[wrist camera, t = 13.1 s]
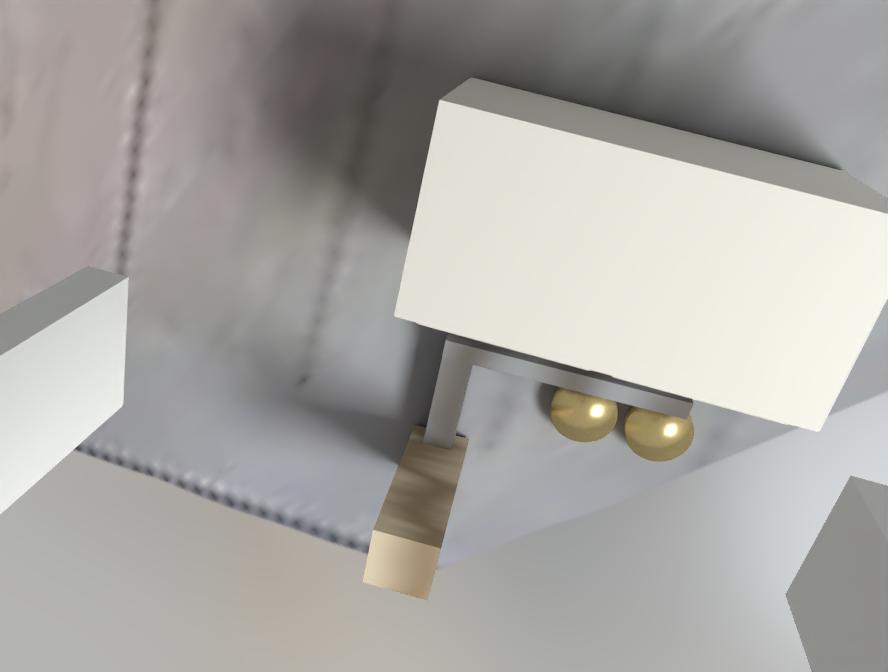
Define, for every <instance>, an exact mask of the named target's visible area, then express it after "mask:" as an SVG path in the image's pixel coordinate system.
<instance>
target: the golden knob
mask: <svg viewBox="0 0 888 672" xmlns="http://www.w3.org/2000/svg"><path fill="white" fill-rule="evenodd" d="M617 417H618V409H617V402H616V401H612V400H608V399H604V398H601V397H597V396H593V395H589V394H585V393H581V392H577V391H573V390H570V389H566V388H562V387H558V388H557V389H556V391H555V392H554V394H553V397H552V402H551V419H552V422H553V424H554V426H555V428H556V429H557V430H558V431H559V432H560V433H561V434H562V435H563V436H565V437H567V438H569V439H571V440H574V441H578V442H592V441H596V440H599V439H601V438H603V437H605V436H606V435H607V434H609V433H610V432H611V431H612V429H613V428H614V426H615V424H616V422H617Z"/></svg>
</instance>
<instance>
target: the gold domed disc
mask: <svg viewBox="0 0 888 672" xmlns="http://www.w3.org/2000/svg"><path fill="white" fill-rule="evenodd" d="M624 428H625V436H626V440H627V443H628V445H629V447H630V448H631V449H632V450H633V452H635V453H636V454H637V455H639V456H640V457H642V458H644V459H647V460H651V461H667V460H671V459H674V458H676V457H678V456H680V455H681V454H683V453H684V452H685V451H686V450H687V449H688V448H689V446H690V445H691V443H692V440H693V436H694V427H693V423H692V420H691V416H690V414H689V415H688V418H687V420H686V419H682V418H678V417H674V416H670V415H667V414H663V413H659V412H655V411H651V410H647V409H643V408H639V407H636V406H632V407H631V408H630V409H629V411H628V412H627V414H626V417H625V421H624Z"/></svg>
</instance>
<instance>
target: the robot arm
mask: <svg viewBox="0 0 888 672" xmlns="http://www.w3.org/2000/svg"><path fill="white" fill-rule="evenodd" d="M127 301H128V277H126V276H123V275H119V274H115V273H112V272H108V271H105V270H101V269H97V268H94V267H90V266H88V267H86V268H85V269H83V270H81V271H79V272H77V273H75V274H73V275H72V276H70V277H68V278H66V279H64V280H62V281H61V282H59V283H57V284H55V285H53V286H51V287H49V288H48V289H46V290H44V291H42V292H40V293H38V294H37V295H35V296H33V297H31V298H29V299H27V300H26V301H24V302H22V303H20V304H18V305H16V306H14V307H13V308H11V309H9V310H7V311H5V312H3V313H2V314H0V514H1V513H2V512H3V511H4V510H6V509H7V508H8V507H9V506H10V505H11V504H12V503H13V502H15V501H16V500H17V499H18V498H19V497H20V496H21V495H22V494H24V493H25V492H26V491H27V490H28V489H29V488H30V487H32V486H33V485H34V484H35V483H36V482H37V481H38V480H39V479H41V478H42V477H43V476H44V475H45V474H46V473H47V472H48V471H50V470H51V469H52V468H53V467H54V466H55V465H56V464H57V463H59V462H60V461H61V460H62V459H63V458H64V457H65V456H66V455H68V454H69V453H70V452H71V451H72V450H73V449H74V448H76V447H77V446H78V445H79V444H80V443H81V442H82V441H83V440H85V439H86V438H87V437H88V436H89V435H90V434H91V433H92V432H94V431H95V430H96V429H97V428H98V427H99V426H100V425H101V424H103V423H104V422H105V421H106V420H107V419H108V418H109V417H110V416H112V415H113V414H114V413H115V412H116V411H117V410H118V409H120V408H121V407H122V406H123V393H124V370H125V347H126V324H127ZM786 597H787V600H788V603H789V606H790V609H791V612H792V615H793V618H794V621H795V624H796V627H797V630H798V633H799V635H800V638H801V641H802V644H803V647H804V650H805V653H806V656H807V659H808V662H809V665H810V668H811V671H812V672H888V486H886V485H883V484H879V483H875V482H872V481H868V480H865V479H861V478H857V477H854V476H850V478H849V480H848V482H847V484H846V485H845V487H844V489H843V491H842V493H841V494H840V496H839V498H838V500H837V502H836V503H835V505H834V507H833V509H832V511H831V513H830V514H829V516H828V518H827V520H826V522H825V523H824V525H823V527H822V529H821V531H820V533H819V535H818V537H817V538H816V540H815V542H814V544H813V545H812V547H811V549H810V551H809V553H808V555H807V556H806V558H805V560H804V562H803V564H802V565H801V567H800V569H799V571H798V573H797V575H796V577H795V578H794V580H793V582H792V584H791V586H790V587H789V589H788V591H787V593H786Z"/></svg>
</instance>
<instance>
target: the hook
mask: <svg viewBox="0 0 888 672" xmlns="http://www.w3.org/2000/svg"><path fill="white" fill-rule="evenodd" d="M473 365H476V366H480V367H484V368H488V369H492V370H496V371H500V372H504V373H508V374H511V375H515V376H519V377H523V378H527V379H531V380H535V381H539V382H542V383H546V384H550V385H554V386H558V387H562V388H566V389H570V390H573V391H577V392H581V393H585V394H589V395H593V396H597V397H601V398H604V399H608V400H612V401H616V402H620V403H624V404H628V405H632V406H636V407H639V408H643V409H647V410H651V411H655V412H659V413H663V414H667V415H670V416H674V417H678V418H682V419H686V420H687V418H688V415H689V413H690V410H691V408H692V405H693V401H692V399H691V398H687V397H683V396H680V395H676V394H672V393H669V392H665V391H661V390H658V389H654V388H650V387H647V386H643V385H639V384H636V383H632V382H628V381H625V380H621V379H617V378H614V377H612V376H611V375H607V374H604V373H600V372H596V371H593V370H590V371H588V370H584V369H581V368H577V367H573V366H570V365H566V364H562V363H559V362H555V361H551V360H548V359H544V358H540V357H537V356H533V355H529V354H526V353H522V352H518V351H515V350H511V349H507V348H504V347H500V346H496V345H493V344H489V343H485V342H482V341H478V340H474V339H471V338H467V337H463V336H460V335H456V334H452V333H448V335H447V338H446V341H445V345H444V350H443V354H442V360H441V365H440V369H439V374H438V378H437V382H436V387H435V391H434V396H433V400H432V405H431V409H430V413H429V418H428V422H427V427H422V426H418V425H414V427H413V430H412V432H411V435H410V438H409V440H408V443H407V445H406V448H405V450H404V453H403V455H402V458H401V460H400V463H399V466H398V468H397V471H396V473H395V476H394V478H393V481H392V483H391V486H390V489H389V491H388V494H387V496H386V499H385V501H384V504H383V506H382V509H381V511H380V514H379V517H378V519H377V522H376V524H375V527H374V529H373V534H372V539H371V543H370V548H369V553H368V558H367V564H366V568H365V573H364V578H363V582H364V583H367V584H371V585H374V586H378V587H382V588H385V589H389V590H392V591H396V592H400V593H403V594H407V595H410V596H414V597H417V598H421V599H424V600H428V597H429V593H430V589H431V585H432V581H433V577H434V574H435V570H436V566H437V562H438V558H439V554H440V550H441V546H442V542H443V538H444V534H445V531H446V527H447V523H448V519H449V515H450V511H451V507H452V503H453V499H454V495H455V491H456V488H457V484H458V480H459V476H460V472H461V468H462V464H463V460H464V456H465V452H466V449H467V445H468V441H469V439H467V438H464V437H460V436H456V431H457V426H458V422H459V418H460V414H461V410H462V406H463V402H464V398H465V394H466V390H467V386H468V382H469V378H470V374H471V370H472V366H473Z"/></svg>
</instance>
